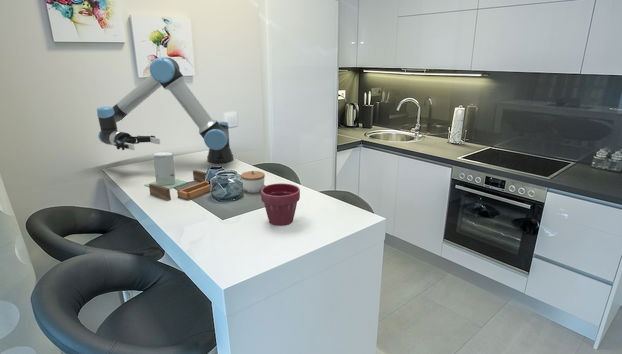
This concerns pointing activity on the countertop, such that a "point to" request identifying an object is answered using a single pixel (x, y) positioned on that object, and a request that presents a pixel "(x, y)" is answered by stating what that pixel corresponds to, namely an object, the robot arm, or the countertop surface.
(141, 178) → the countertop surface
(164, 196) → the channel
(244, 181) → the lidded jar
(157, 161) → the skincare box
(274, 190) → the plant pot
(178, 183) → the pad
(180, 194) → the brown rectangular tray
